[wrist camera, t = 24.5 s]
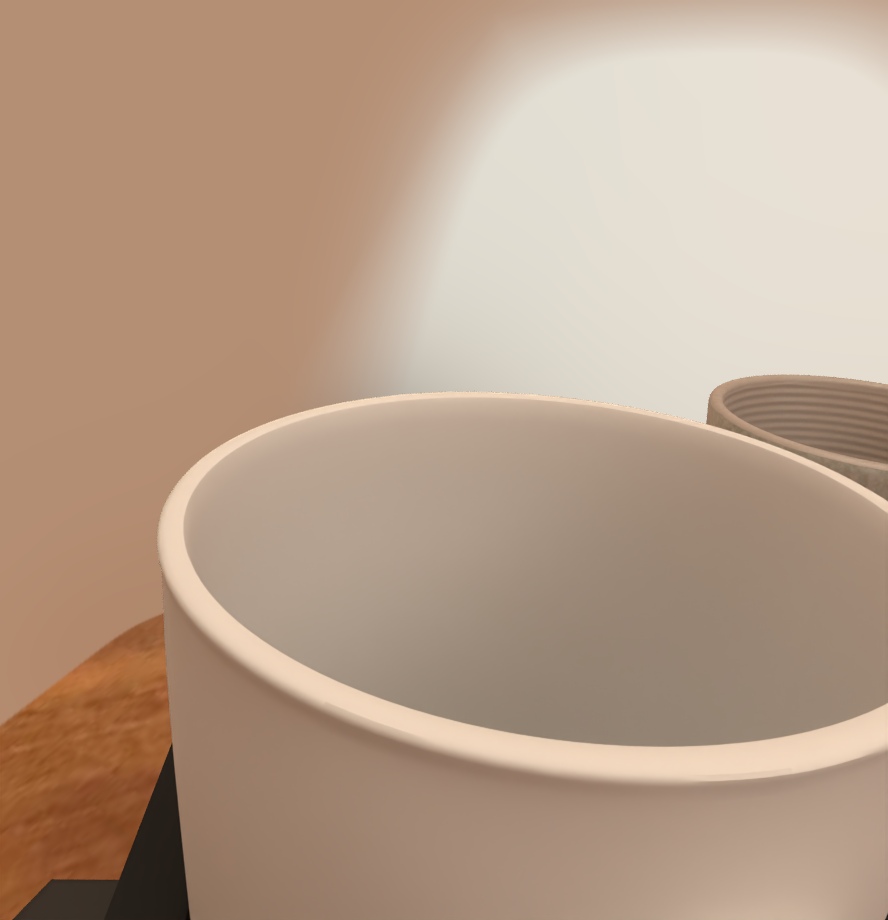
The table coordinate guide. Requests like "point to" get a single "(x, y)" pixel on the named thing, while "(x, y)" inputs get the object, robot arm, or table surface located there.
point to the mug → (525, 669)
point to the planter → (812, 421)
